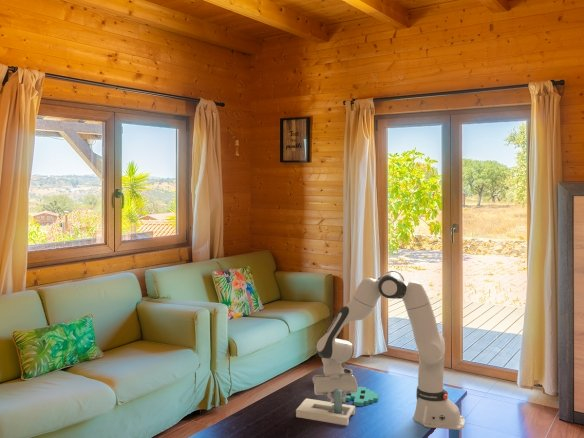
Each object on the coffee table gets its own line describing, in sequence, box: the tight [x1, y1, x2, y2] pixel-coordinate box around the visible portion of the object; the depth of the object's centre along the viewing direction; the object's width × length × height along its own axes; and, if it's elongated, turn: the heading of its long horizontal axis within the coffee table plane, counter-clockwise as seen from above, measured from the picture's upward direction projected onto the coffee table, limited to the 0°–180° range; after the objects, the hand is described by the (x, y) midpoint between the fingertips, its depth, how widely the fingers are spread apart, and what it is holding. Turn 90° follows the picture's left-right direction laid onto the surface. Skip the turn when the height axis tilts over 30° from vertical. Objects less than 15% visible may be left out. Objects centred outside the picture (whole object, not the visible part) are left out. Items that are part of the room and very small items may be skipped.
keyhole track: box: [295, 397, 356, 426], centre depth 255 cm, size 24×14×3 cm, turn 70°
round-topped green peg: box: [330, 389, 345, 415], centre depth 252 cm, size 6×6×12 cm
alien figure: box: [342, 386, 380, 407], centre depth 276 cm, size 20×2×20 cm
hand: (338, 402), depth 252 cm, fingers closed on round-topped green peg, 4 cm apart
